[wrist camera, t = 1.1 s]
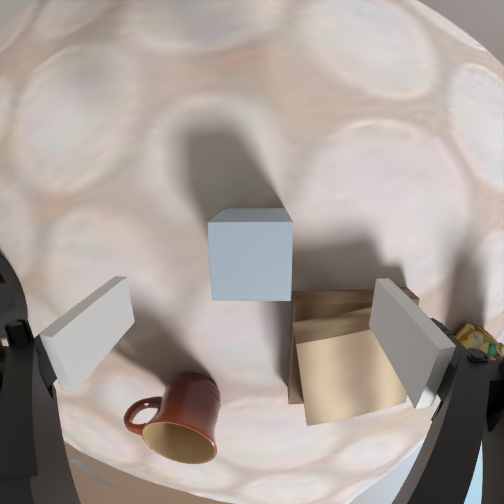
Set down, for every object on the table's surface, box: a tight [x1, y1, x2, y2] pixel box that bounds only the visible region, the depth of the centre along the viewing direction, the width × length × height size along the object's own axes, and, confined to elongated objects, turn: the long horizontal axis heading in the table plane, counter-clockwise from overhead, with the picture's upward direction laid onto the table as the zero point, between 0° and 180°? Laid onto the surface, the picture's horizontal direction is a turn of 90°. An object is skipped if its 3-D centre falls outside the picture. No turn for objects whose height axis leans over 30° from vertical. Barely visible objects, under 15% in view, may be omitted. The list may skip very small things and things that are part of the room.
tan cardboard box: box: [288, 288, 419, 404], centre depth 31 cm, size 14×14×4 cm
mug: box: [124, 373, 221, 464], centre depth 30 cm, size 12×9×10 cm
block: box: [207, 208, 293, 301], centre depth 25 cm, size 6×6×9 cm
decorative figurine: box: [455, 323, 504, 360], centre depth 25 cm, size 10×8×15 cm
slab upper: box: [293, 307, 407, 426], centre depth 27 cm, size 12×12×4 cm
